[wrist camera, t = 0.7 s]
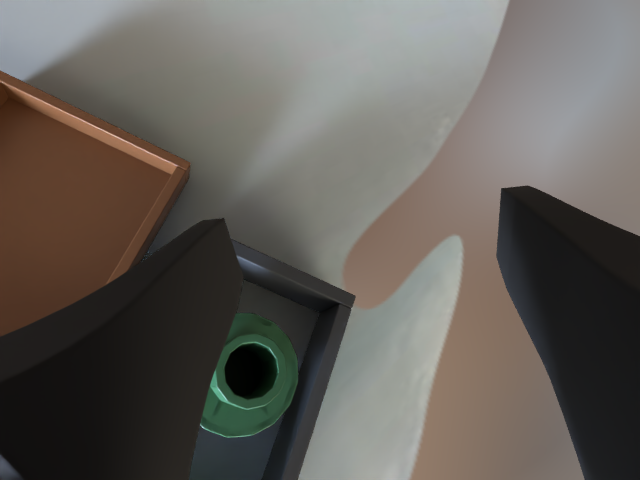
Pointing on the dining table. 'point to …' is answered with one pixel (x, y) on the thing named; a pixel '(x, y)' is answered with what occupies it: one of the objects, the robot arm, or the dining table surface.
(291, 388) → the bottle
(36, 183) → the tray
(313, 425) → the crate
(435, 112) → the dining table surface
